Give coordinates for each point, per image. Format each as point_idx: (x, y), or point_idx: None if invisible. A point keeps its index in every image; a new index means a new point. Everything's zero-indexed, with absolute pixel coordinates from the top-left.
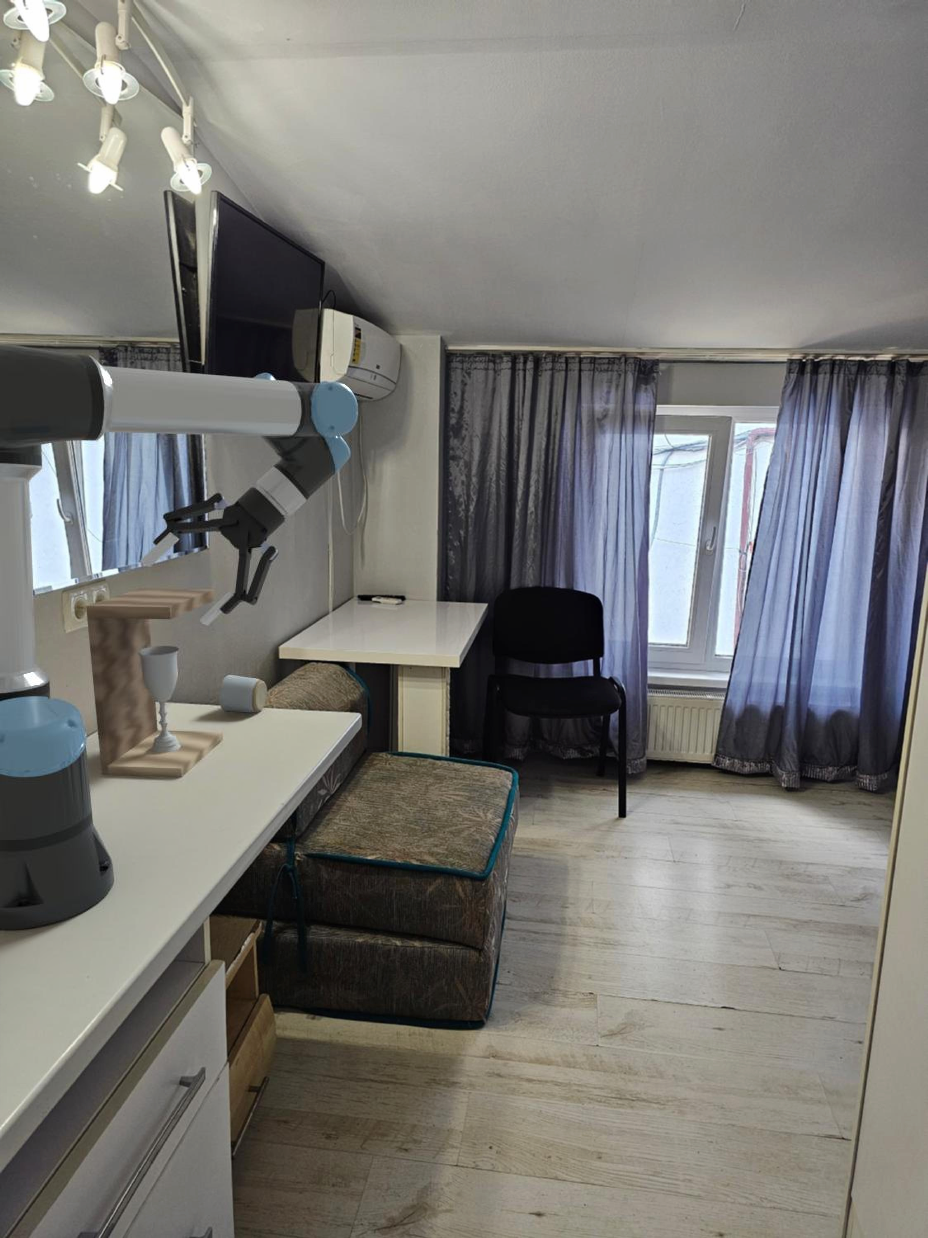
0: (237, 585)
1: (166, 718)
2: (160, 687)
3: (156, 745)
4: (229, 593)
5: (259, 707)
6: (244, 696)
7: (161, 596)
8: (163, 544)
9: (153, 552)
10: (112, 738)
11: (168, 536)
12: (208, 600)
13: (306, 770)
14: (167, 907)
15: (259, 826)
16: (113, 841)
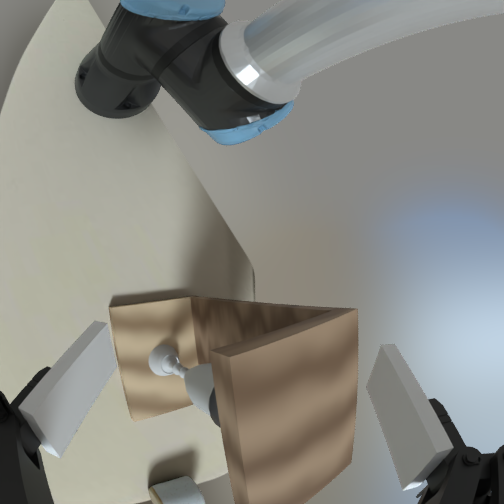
0: (9, 443)
1: (177, 372)
2: (194, 368)
3: (169, 349)
4: (29, 406)
5: (149, 492)
6: (165, 490)
7: (305, 445)
8: (417, 409)
9: (402, 376)
10: (205, 313)
11: (439, 435)
12: None
13: None
14: (32, 68)
15: None
16: (102, 152)
